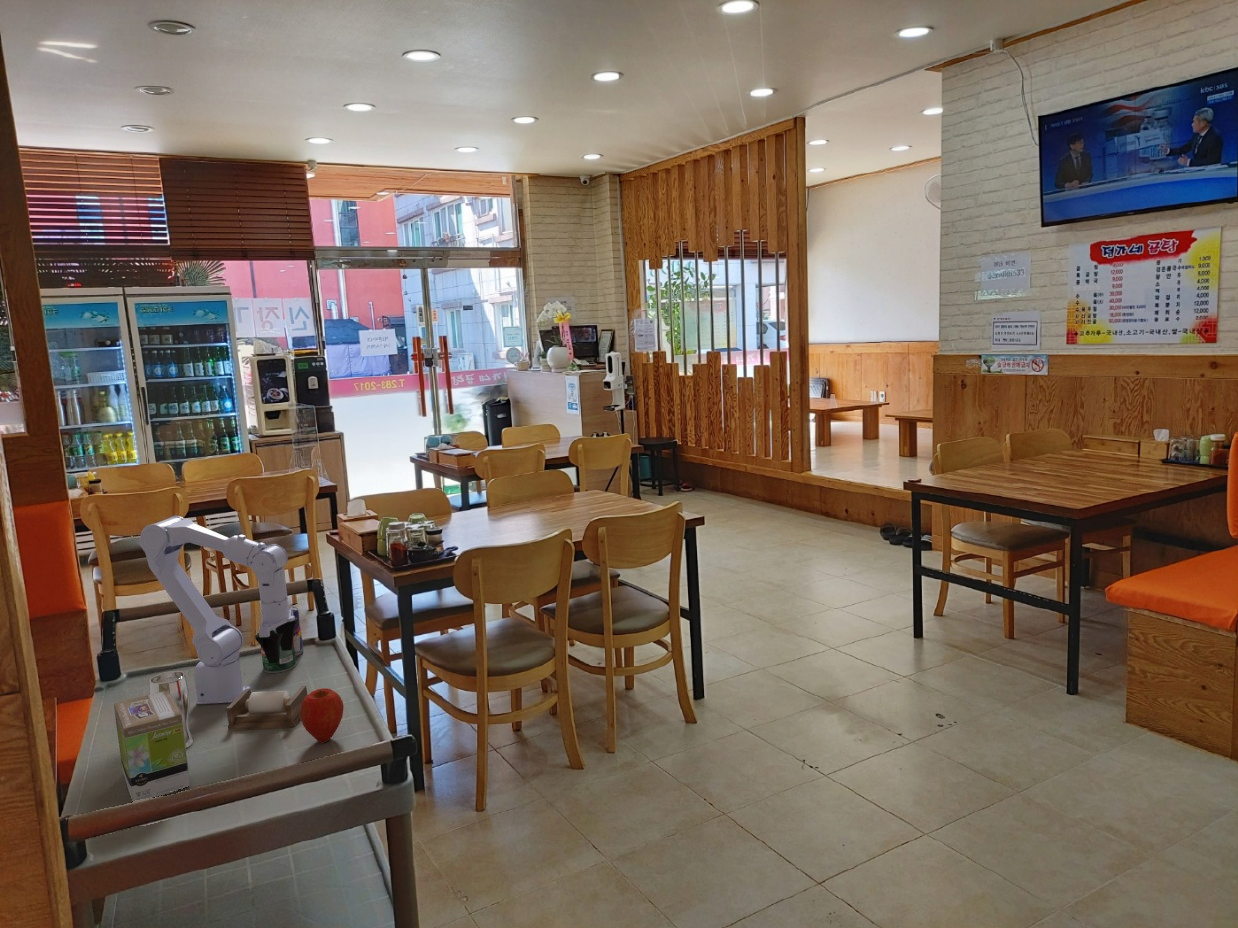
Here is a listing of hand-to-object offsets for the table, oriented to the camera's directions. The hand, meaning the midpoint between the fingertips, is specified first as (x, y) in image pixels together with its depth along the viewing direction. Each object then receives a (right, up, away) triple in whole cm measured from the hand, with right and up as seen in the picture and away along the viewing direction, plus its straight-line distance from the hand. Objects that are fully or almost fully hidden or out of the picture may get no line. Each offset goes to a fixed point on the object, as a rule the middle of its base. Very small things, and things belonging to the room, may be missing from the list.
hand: (280, 656), depth 201 cm
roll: (+1, -8, -10) cm, 13 cm away
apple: (+17, -13, -21) cm, 30 cm away
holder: (+1, -12, -9) cm, 15 cm away
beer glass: (-14, -14, -20) cm, 28 cm away
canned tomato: (-8, -7, +20) cm, 23 cm away
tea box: (-10, -16, -34) cm, 39 cm away
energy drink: (-8, -6, +29) cm, 31 cm away
